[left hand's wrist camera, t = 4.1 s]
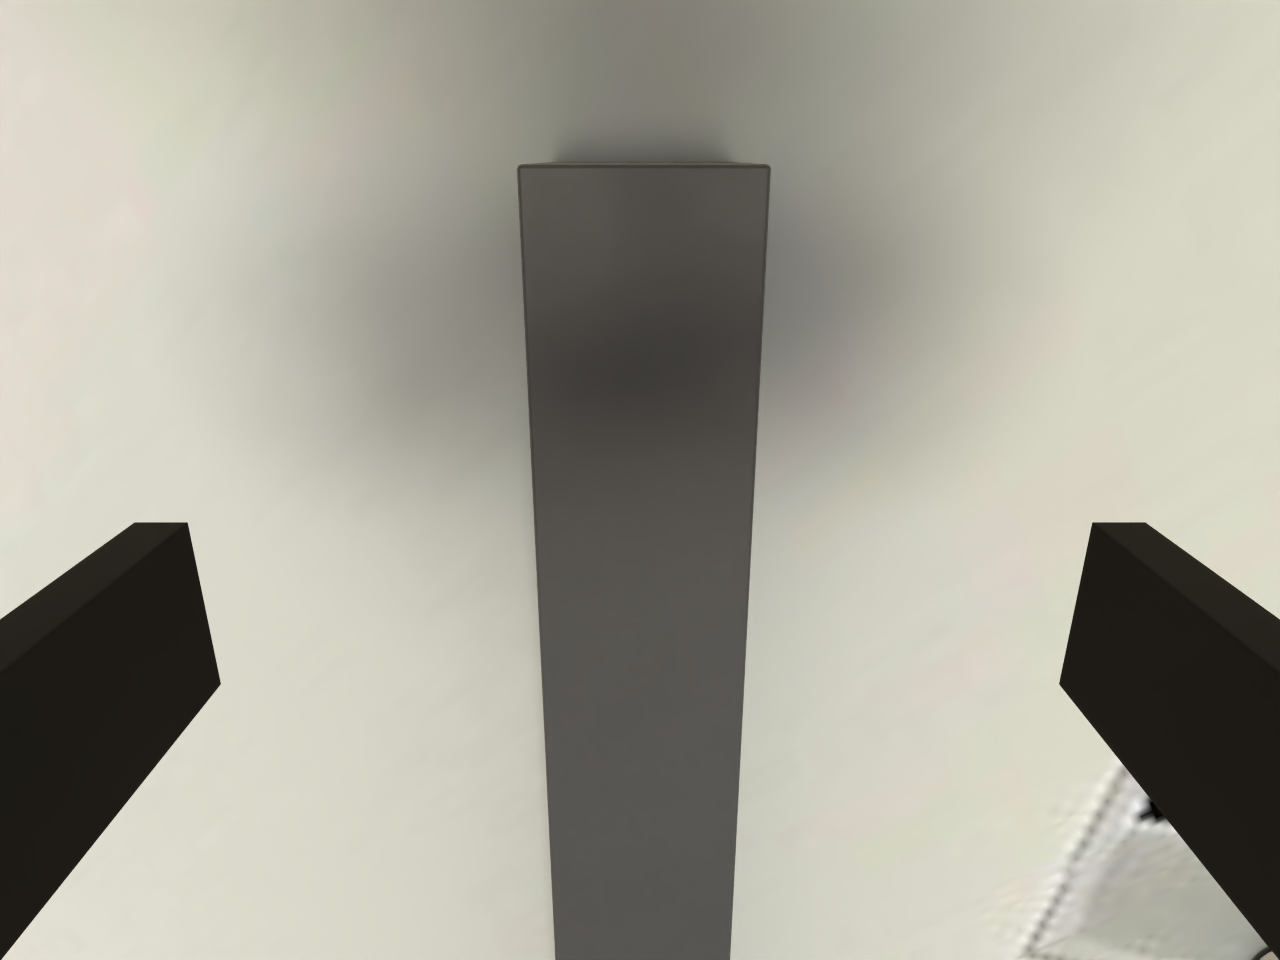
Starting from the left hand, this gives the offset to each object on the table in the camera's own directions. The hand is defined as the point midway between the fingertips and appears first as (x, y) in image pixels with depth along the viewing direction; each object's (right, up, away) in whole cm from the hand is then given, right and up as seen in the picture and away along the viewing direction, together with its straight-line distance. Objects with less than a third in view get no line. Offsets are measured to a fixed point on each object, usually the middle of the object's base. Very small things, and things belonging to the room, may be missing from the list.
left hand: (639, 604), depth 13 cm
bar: (0, -24, +26) cm, 35 cm away
